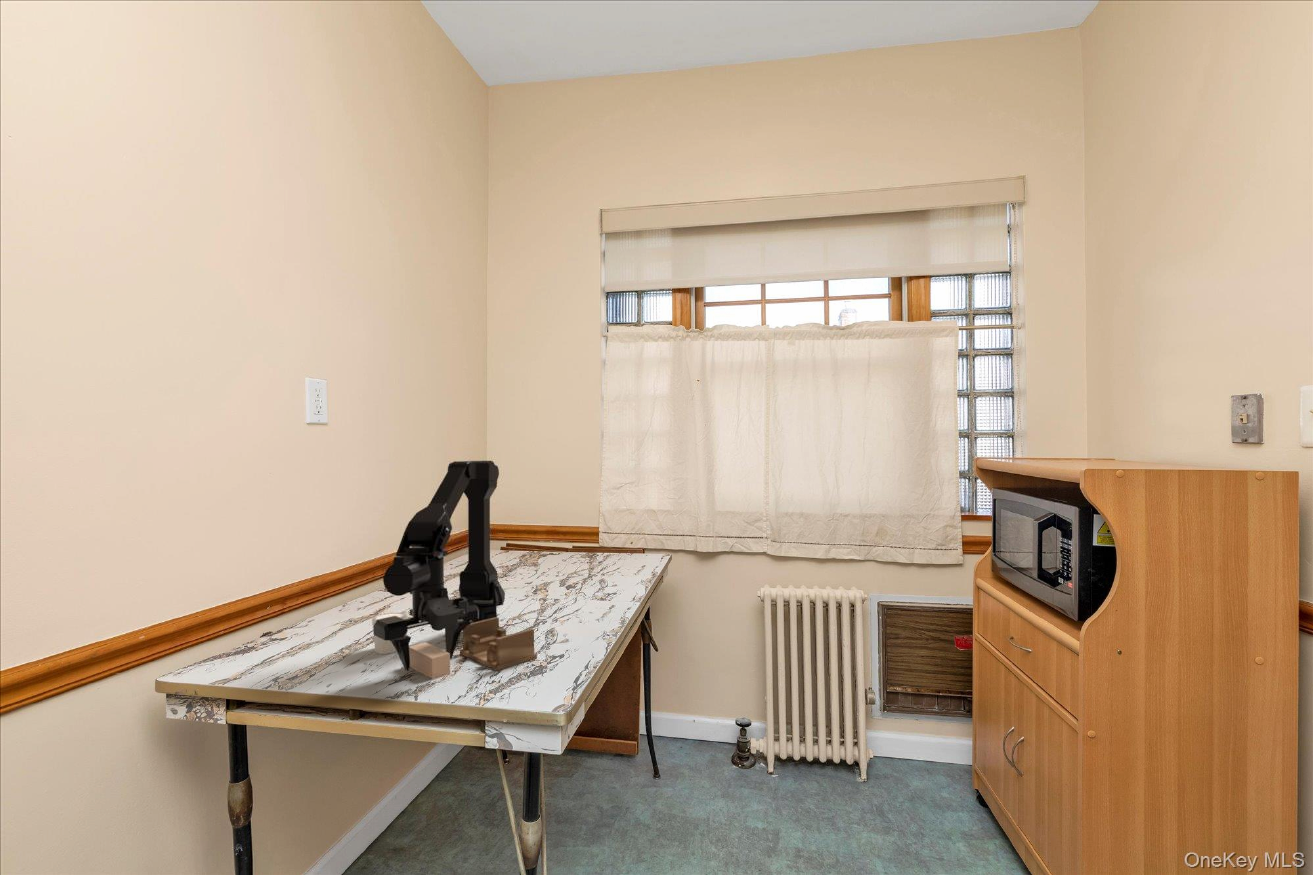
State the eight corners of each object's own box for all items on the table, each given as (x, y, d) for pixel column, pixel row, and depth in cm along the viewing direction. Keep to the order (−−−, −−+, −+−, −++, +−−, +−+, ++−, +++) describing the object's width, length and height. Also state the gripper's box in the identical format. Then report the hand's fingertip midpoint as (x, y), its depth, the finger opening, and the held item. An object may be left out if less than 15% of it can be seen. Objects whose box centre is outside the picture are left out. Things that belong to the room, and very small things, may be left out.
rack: (460, 653, 124) (459, 625, 124) (498, 642, 131) (497, 616, 131) (497, 670, 114) (497, 640, 114) (536, 658, 121) (536, 629, 121)
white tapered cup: (414, 646, 129) (413, 613, 130) (388, 656, 123) (387, 622, 123) (391, 642, 132) (391, 610, 133) (364, 652, 126) (364, 618, 126)
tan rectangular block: (408, 667, 118) (408, 646, 118) (425, 662, 120) (425, 642, 120) (432, 680, 111) (432, 658, 111) (450, 674, 113) (449, 653, 113)
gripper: (397, 599, 103) (398, 690, 103) (493, 580, 117) (494, 660, 117) (372, 589, 111) (372, 674, 111) (464, 573, 125) (465, 648, 124)
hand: (428, 664), depth 115 cm, fingers open, 8 cm apart
